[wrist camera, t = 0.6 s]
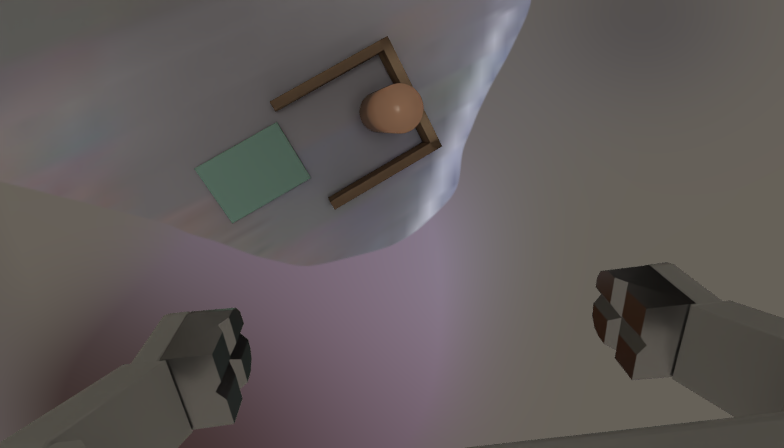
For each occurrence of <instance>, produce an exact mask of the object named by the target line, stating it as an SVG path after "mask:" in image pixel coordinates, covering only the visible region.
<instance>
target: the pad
mask: <svg viewBox="0 0 784 448" xmlns="http://www.w3.org/2000/svg"><path fill="white" fill-rule="evenodd" d="M195 170H196V172H197V173H198V175H199V176H200V178H201V179H202V181H203V182H204V183H205V185H206V186H207V188H208V189H209V191H210V192H211V193H212V195H213V196H214V198H215V199H216V201H217V202H218V203H219V205H220V206H221V208H222V209H223V211H224V212H225V214H226V215H227V216H228V218H229V219H230V221H231V222H232V223H234V222H236V221H238V220H239V219H241V218H243V217H244V216H246V215H248V214H250V213H251V212H253V211H255V210H256V209H258V208H260V207H262V206H263V205H265V204H267V203H269V202H270V201H272V200H274V199H275V198H277V197H279V196H281V195H282V194H284V193H286V192H287V191H289V190H291V189H293V188H294V187H296V186H298V185H300V184H301V183H303V182H305V181H306V180H308V179H310V178H311V177H310V176H309V174H308V173H307V171H306V169H305V168H304V166H303V164H302V163H301V161H300V159H299V158H298V156H297V155H296V153H295V151H294V150H293V148H292V146H291V145H290V143H289V141H288V140H287V138H286V136H285V135H284V133H283V132H282V130H281V128H280V127H279V125H278V123H277V122H276V123H274V124H273V125H271V126H269V127H267V128H266V129H264V130H262V131H260V132H259V133H257V134H255V135H253V136H251V137H250V138H248V139H246V140H244V141H243V142H241V143H239V144H237V145H235V146H234V147H232V148H230V149H228V150H227V151H225V152H223V153H221V154H219V155H218V156H216V157H214V158H212V159H211V160H209V161H207V162H205V163H204V164H202V165H200V166H198V167H196V168H195Z"/></svg>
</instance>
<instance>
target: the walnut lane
mask: <svg viewBox="0 0 784 448" xmlns="http://www.w3.org/2000/svg"><path fill="white" fill-rule="evenodd" d="M376 55H379V57H380V59H381V61H382V63H383V64H384V66H385V68H386V70H387V72H388V74H389V76H390V78H391V80H392V82H393V84H396V83H403V84H407V85H409V86H411V87H413V86H412V84H411V82H410V80H409V78H408V76H407V74H406V72H405V70H404V68H403V66H402V64H401V62H400V60H399V58H398V56H397V54H396V52H395V50H394V48H393V46H392V44H391V42H390V40H389V38H388V36H386V37H385V38H383V39H381V40H379V41H378V42H376V43H374V44H372V45H370V46H369V47H367V48H365V49H363V50H361V51H360V52H358V53H356V54H354V55H352V56H351V57H349V58H347V59H345V60H343V61H342V62H340V63H338V64H336V65H335V66H333V67H331V68H329V69H327V70H326V71H324V72H322V73H320V74H318V75H317V76H315V77H313V78H311V79H309V80H308V81H306V82H304V83H302V84H300V85H299V86H297V87H295V88H293V89H291V90H290V91H288V92H286V93H284V94H283V95H281V96H279V97H277V98H275V99H274V100H272V101H270V103H271V105H272V107H273V108H274V110H275V111H278V110H280V109H282V108H283V107H285V106H287V105H289V104H290V103H292V102H294V101H296V100H298V99H299V98H301V97H303V96H305V95H306V94H308V93H310V92H312V91H314V90H315V89H317V88H319V87H321V86H323V85H324V84H326V83H328V82H330V81H331V80H333V79H335V78H337V77H339V76H340V75H342V74H344V73H346V72H347V71H349V70H351V69H353V68H355V67H356V66H358V65H360V64H362V63H364V62H365V61H367V60H369V59H371V58H372V57H374V56H376ZM415 128H416V130H417V131H418V133H419V135H420V137H421V139H422V141H423V142H422V143H420V144H418V145H417V146H415V147H413V148H412V149H410V150H408V151H407V152H405V153H403V154H401V155H400V156H398V157H396V158H395V159H393V160H391V161H390V162H388V163H386V164H384V165H383V166H381V167H379V168H378V169H376V170H374V171H373V172H371V173H369V174H367V175H366V176H364V177H362V178H361V179H359V180H357V181H356V182H354V183H352V184H350V185H349V186H347V187H345V188H344V189H342V190H340V191H339V192H337V193H335V194H333V195H332V196H330V197H328V199H329V201H330V202H331V204H332V206H333V207H334V209H337V208H338V207H340V206H342V205H344V204H345V203H347V202H349V201H350V200H352V199H354V198H355V197H357V196H359V195H360V194H362V193H364V192H366V191H367V190H369V189H371V188H372V187H374V186H376V185H377V184H379V183H381V182H382V181H384V180H386V179H388V178H389V177H391V176H393V175H394V174H396V173H398V172H399V171H401V170H403V169H404V168H406V167H408V166H409V165H411V164H413V163H415V162H416V161H418V160H420V159H421V158H423V157H425V156H426V155H428V154H430V153H431V152H433V151H435V150H437V149H438V148H440V147H442V145H441V143H440V141H439V139H438V137H437V135H436V133H435V131H434V129H433V127H432V125H431V123H430V121H429V119H428V117H427V115H426V113H425V111H424V109H423V115H422V118H421V120H420V122H419V124H418V125H417V126H416V127H415Z"/></svg>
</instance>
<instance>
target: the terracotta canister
mask: <svg viewBox="0 0 784 448" xmlns="http://www.w3.org/2000/svg"><path fill="white" fill-rule="evenodd" d="M359 113H360V119H361V121H362V123H363V124H364V126H365V127H366V128H368V129H369V130H371V131H373V132H379V133H406V132H409V131H411V130H413V129H414V128H415V127H416V126H417V125H418V124H419V122H420V120H421V118H422V115H423V102H422V99H421V96H420V95H419V93H418V92H417V91H416V90H415V89H414V88H413V87H411V86H409V85H407V84H403V83H396V84H392V85H390V86H387V87H385V88H383V89H380V90H378V91H376V92H373V93H371V94H369V95H367V96H366V97H365V98H364V99H363V101H362V103H361V105H360V110H359Z"/></svg>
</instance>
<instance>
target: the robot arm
mask: <svg viewBox="0 0 784 448" xmlns="http://www.w3.org/2000/svg"><path fill="white" fill-rule="evenodd" d="M596 288H597V289H598V291H599V292H600V293H601V295H600V296H599V298H598V299H597V300H596V301H595V302H594V304H593V313H592V317H593V322H594V328H595V330H596V332H597V334H598V336H599V338H600V339H601V340H602V342H603V343H604V344H605V345H607V346H609V347H611V348H613V349H615V350H616V353H615V359H616V360H617V362H618V363H619V364H620V365H621V367H622V368H623V369H624V371H625V372H626V373H627V374H628V376H629V377H630V378H631V380H640V379H652V378H664V377H672V379H673V380H675V381H677V382H678V383H680V384H682V385H683V386H685V387H686V388H688V389H690V390H691V391H693V392H695V393H696V394H698V395H700V396H701V397H703V398H705V399H706V400H708V401H710V402H711V403H713V404H714V405H716V406H718V407H719V408H721V409H722V410H724V411H726V412H727V413H729V414H730V415H732V416H734V417H733V418H725V419H717V420H707V421H698V422H689V423H680V424H671V425H662V426H653V427H644V428H635V429H626V430H617V431H609V432H600V433H591V434H582V435H573V436H565V437H555V438H546V439H537V440H528V441H520V442H512V443H502V444H494V445H485V446H477V447H467V448H784V318H782V317H779V316H776V315H772V314H769V313H766V312H763V311H760V310H757V309H754V308H751V307H748V306H745V305H742V304H739V303H736V302H733V301H722V300H720V299H719V298H718V297H717V296H715V295H714V294H713V293H711V292H710V291H709V290H707V289H706V288H704V287H703V286H702V285H701V284H699V283H698V282H697V281H695V280H694V279H693V278H691V277H690V276H689V275H687V274H686V273H684V272H683V271H682V270H681V269H679V268H678V267H677V266H676V265H674V264H671V263H668V262H665V263H657V264H650V265H644V266H638V267H629V268H621V269H613V270H605V271H600V273H599V275H598V277H597V282H596ZM243 324H244V323H243V320H242V316H241V313H240V311H239V310H238V309H237V308H227V309H215V310H203V311H192V312H180V313H172V314H168V315H165V316H163V318H162V319H161V321H160V322H159V324H158V325H157V327H156V328H155V329H154V331H153V332H152V334H151V335H150V337H149V338H148V340H147V341H146V342H145V344H144V345H143V347H142V348H141V350H140V351H139V353H138V354H137V356H136V357H135V359H134V360H133V362H132V363H131V364H126V365H122V366H120V367H119V368H117V369H116V370H114V371H113V372H111V373H109V374H108V375H106V376H105V377H103V378H102V379H100V380H99V381H97V382H95V383H94V384H92V385H91V386H89V387H87V388H86V389H85V390H83V391H81V392H79V393H78V394H76V395H75V396H73V397H72V398H70V399H68V400H67V401H65V402H64V403H62V404H60V405H59V406H57V407H56V408H54V409H53V410H51V411H49V412H48V413H46V414H45V415H43V416H42V417H40V418H39V419H37V420H35V421H34V422H32V423H30V424H29V425H27V426H26V427H24V428H23V429H21V430H19V431H18V432H16V433H15V434H13V435H12V436H10V437H8V438H7V439H5V440H4V441H2V442H1V443H0V448H178V447H179V446H180V444H182V443H183V442H184V440H185V439H186V438H187V437H188V436H189V435H190V434H191V433H192V430H193V429H200V428H208V427H214V426H222V425H230V424H234V423H235V420H236V417H237V414H238V411H239V408H240V405H241V401H242V395H241V391H240V389H241V388H242V387H243V386H244V385H245V384H246V383H247V382H248V379H249V376H250V372H251V350H250V345H249V341H248V339H247V338H245V337H244V336H243V335H242V334H241V333H240V332H241V329H242V327H243Z"/></svg>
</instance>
